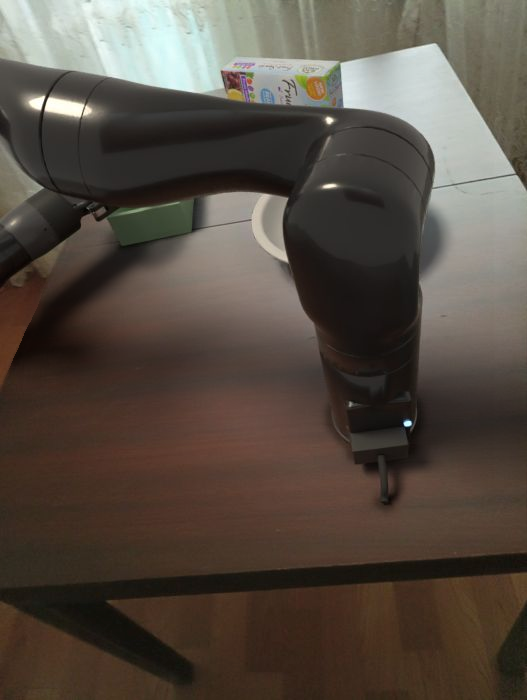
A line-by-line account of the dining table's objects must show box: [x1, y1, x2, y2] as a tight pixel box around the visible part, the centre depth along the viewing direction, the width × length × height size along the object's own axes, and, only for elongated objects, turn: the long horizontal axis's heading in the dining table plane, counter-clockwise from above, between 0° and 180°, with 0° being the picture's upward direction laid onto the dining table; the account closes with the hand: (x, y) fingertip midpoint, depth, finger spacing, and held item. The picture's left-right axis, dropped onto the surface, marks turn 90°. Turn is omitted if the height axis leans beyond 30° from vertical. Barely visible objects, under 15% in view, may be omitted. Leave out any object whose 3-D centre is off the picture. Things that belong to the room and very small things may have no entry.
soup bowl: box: [251, 194, 289, 265], centre depth 73 cm, size 24×24×7 cm
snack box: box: [219, 56, 345, 108], centre depth 88 cm, size 21×6×15 cm, turn 58°
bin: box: [106, 199, 195, 247], centre depth 87 cm, size 13×13×6 cm
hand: (122, 166), depth 80 cm, fingers open, 8 cm apart
